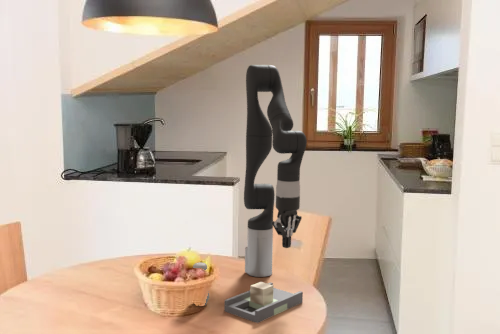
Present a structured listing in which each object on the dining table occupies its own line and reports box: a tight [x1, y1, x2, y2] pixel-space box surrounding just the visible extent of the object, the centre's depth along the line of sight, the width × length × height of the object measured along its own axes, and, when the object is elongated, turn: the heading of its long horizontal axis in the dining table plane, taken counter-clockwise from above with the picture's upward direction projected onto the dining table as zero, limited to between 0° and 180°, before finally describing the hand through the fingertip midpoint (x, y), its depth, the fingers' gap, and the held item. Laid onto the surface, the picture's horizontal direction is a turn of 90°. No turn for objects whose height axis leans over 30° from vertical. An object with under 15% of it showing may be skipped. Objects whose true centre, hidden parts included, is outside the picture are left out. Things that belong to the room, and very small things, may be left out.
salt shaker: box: [192, 261, 210, 306], centre depth 168 cm, size 6×6×13 cm
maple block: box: [249, 281, 274, 306], centre depth 166 cm, size 5×5×5 cm
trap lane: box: [223, 282, 304, 324], centre depth 167 cm, size 13×22×4 cm, turn 139°
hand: (286, 247), depth 173 cm, fingers closed
